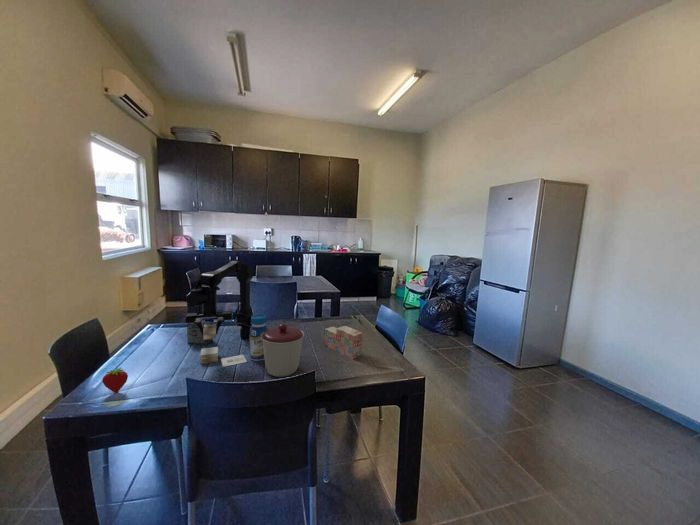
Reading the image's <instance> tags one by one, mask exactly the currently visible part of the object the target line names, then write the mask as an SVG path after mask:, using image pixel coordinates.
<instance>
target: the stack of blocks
mask: <svg viewBox="0 0 700 525" xmlns="http://www.w3.org/2000/svg"><path fill="white" fill-rule="evenodd" d="M323 340H324V344H323V346H324V347H327V348H329V349H330V348H331V350H332V349H333V351H334V350H335V352H337V353H338V352H339V353H338V354H341V355H343V356H344V355H345V356H344V357H346V356H347V358H348V357H349V358H348V359H350V358H351V360H352V359H353V360H355V359H354V358H356V357H358V356H360V355H361V356H362V346H363V332H361V331H359V330H357V329H354V328H351V327H349V326H346V325H343V326H340V327H335V326H331V327H330V326H329V327H327V328H324V339H323ZM361 356H360V357H361ZM358 358H359V357H358ZM356 359H357V358H356Z"/></svg>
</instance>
